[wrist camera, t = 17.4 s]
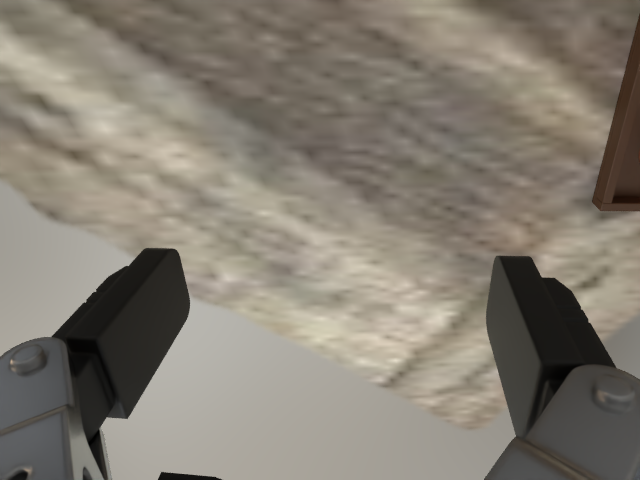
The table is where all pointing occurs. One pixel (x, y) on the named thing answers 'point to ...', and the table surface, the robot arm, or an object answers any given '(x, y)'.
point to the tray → (623, 144)
